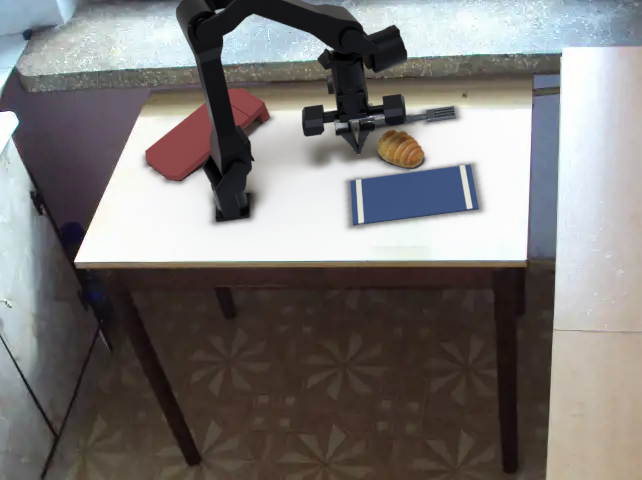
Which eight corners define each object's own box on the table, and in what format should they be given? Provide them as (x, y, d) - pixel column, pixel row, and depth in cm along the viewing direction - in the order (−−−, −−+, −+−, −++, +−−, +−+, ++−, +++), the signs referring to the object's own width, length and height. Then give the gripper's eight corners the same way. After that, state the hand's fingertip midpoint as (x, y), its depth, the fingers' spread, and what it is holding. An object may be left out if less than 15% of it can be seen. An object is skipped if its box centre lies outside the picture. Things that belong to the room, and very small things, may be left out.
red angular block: (182, 197, 186) (276, 120, 191) (172, 179, 182) (268, 101, 187) (149, 172, 193) (241, 98, 198) (139, 154, 189) (233, 79, 194)
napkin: (478, 209, 165) (478, 207, 164) (353, 225, 168) (352, 223, 167) (470, 165, 172) (470, 164, 172) (350, 182, 175) (350, 180, 175)
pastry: (433, 157, 176) (432, 140, 173) (407, 176, 174) (405, 159, 171) (398, 138, 181) (396, 121, 178) (373, 156, 179) (370, 139, 176)
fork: (455, 118, 182) (455, 115, 182) (355, 132, 184) (355, 129, 184) (453, 108, 184) (453, 105, 184) (354, 122, 186) (354, 120, 186)
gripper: (399, 48, 170) (405, 121, 182) (296, 62, 172) (309, 133, 184) (403, 83, 163) (409, 156, 175) (296, 97, 165) (309, 169, 177)
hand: (358, 153), depth 178 cm, fingers closed
